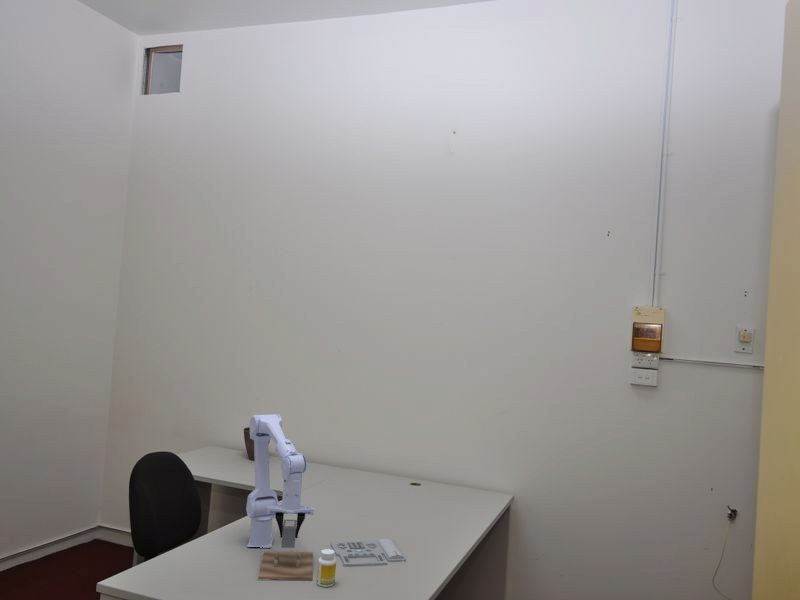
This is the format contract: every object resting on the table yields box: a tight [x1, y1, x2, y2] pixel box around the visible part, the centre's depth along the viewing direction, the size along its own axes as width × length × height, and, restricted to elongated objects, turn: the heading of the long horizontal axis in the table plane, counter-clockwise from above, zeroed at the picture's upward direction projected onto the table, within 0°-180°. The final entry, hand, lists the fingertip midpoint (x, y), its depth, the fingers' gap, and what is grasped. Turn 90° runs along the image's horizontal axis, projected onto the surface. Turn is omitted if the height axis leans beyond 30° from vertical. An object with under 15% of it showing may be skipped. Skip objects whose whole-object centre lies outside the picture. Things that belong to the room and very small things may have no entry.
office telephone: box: [330, 538, 407, 568], centre depth 214 cm, size 23×3×20 cm
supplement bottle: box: [316, 548, 337, 588], centre depth 188 cm, size 5×5×10 cm
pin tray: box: [257, 550, 314, 582], centre depth 199 cm, size 20×16×3 cm
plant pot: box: [243, 426, 271, 462], centre depth 336 cm, size 15×15×16 cm
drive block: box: [280, 519, 297, 549], centre depth 199 cm, size 8×4×6 cm, turn 7°
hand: (288, 536), depth 199 cm, fingers closed on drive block, 4 cm apart
